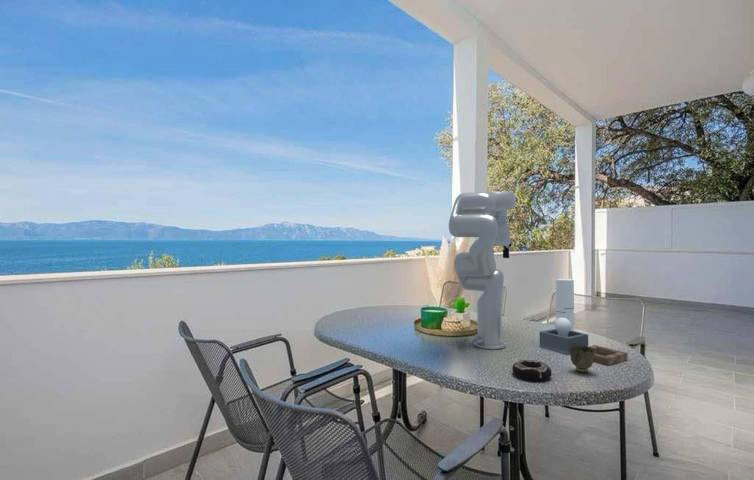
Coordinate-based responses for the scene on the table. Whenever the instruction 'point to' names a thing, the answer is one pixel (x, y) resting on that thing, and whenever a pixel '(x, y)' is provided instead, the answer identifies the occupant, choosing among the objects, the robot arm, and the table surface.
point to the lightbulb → (563, 326)
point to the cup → (582, 357)
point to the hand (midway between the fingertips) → (498, 258)
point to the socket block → (608, 355)
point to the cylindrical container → (565, 300)
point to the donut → (531, 370)
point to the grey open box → (562, 340)
